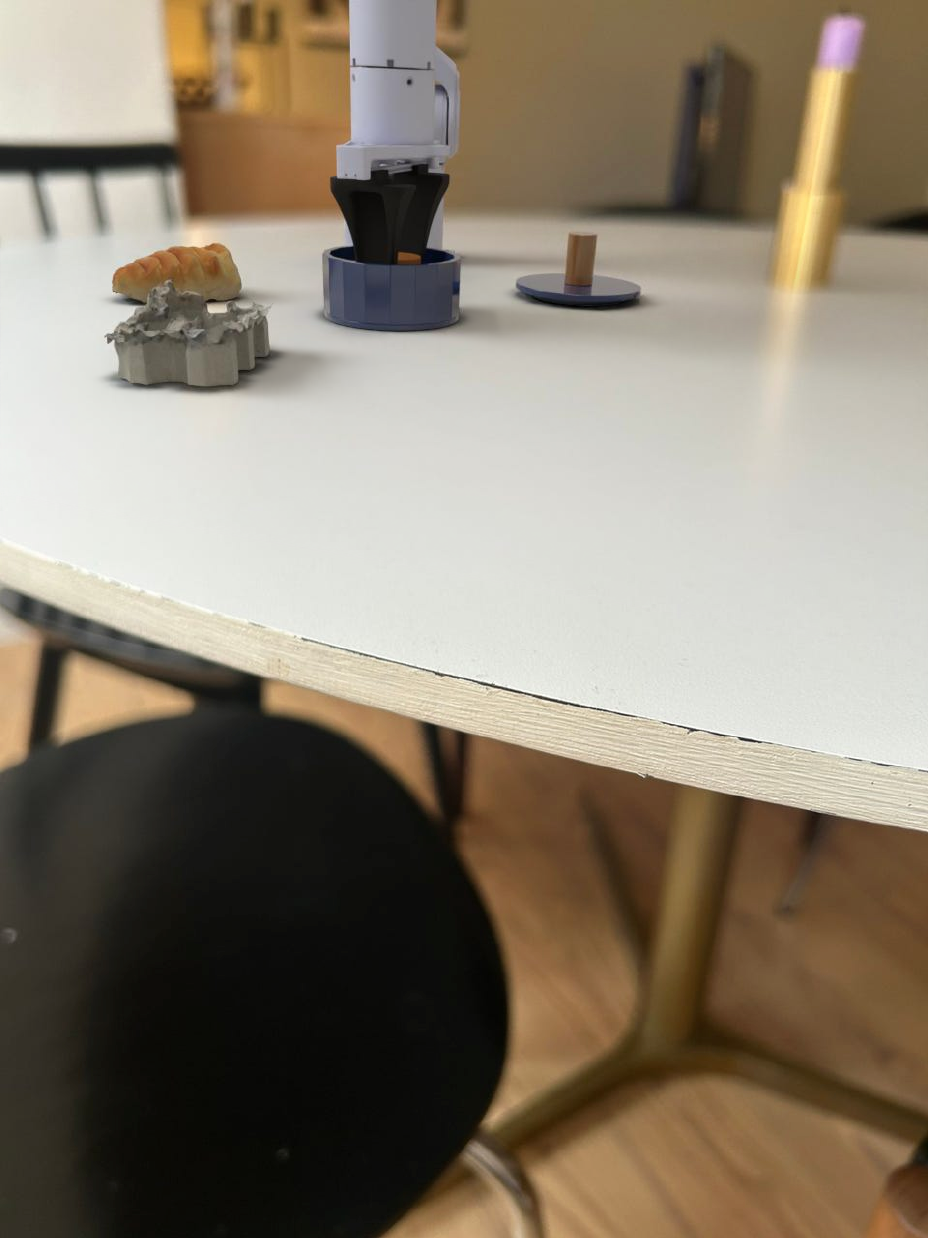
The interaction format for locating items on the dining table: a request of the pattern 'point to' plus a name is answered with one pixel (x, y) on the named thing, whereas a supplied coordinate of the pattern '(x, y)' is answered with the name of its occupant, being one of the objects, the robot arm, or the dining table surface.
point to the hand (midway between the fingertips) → (392, 281)
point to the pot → (391, 291)
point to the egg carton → (189, 340)
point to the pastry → (182, 273)
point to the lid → (579, 279)
